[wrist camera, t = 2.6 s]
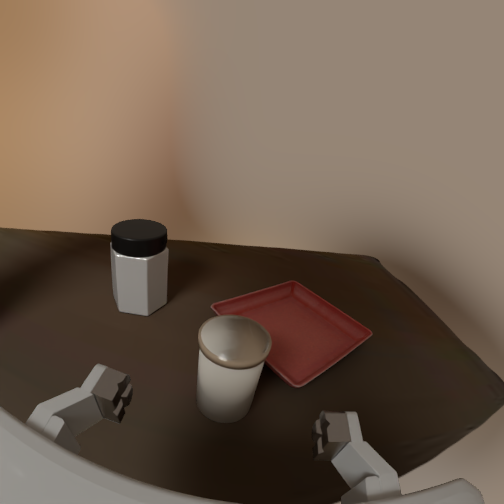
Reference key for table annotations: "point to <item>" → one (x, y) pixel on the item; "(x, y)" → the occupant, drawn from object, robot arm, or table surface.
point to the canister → (229, 366)
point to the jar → (139, 266)
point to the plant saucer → (298, 329)
